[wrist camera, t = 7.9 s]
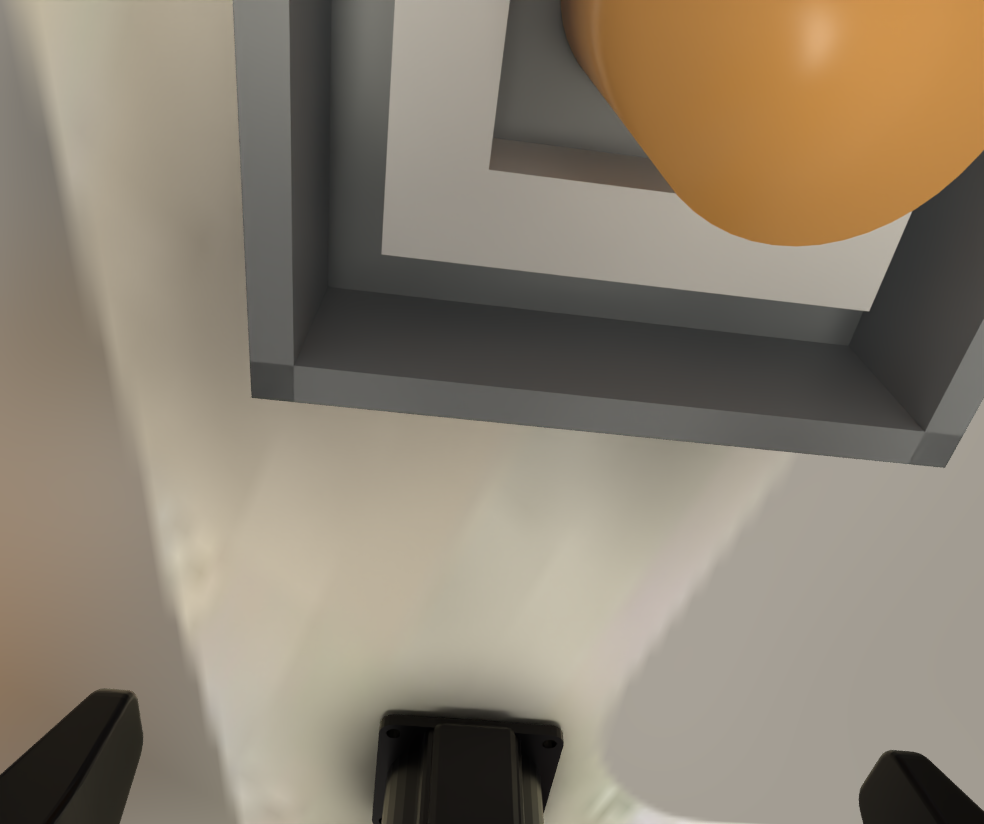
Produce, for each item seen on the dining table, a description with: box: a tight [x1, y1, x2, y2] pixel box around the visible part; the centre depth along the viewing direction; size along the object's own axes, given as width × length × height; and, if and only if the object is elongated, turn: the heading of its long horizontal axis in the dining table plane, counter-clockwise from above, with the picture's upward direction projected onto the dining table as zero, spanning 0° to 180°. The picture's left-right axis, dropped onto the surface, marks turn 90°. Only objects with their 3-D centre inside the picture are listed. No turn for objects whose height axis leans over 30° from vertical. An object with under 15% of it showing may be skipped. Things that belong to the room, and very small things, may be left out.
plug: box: [560, 0, 984, 247], centre depth 11 cm, size 4×4×8 cm
